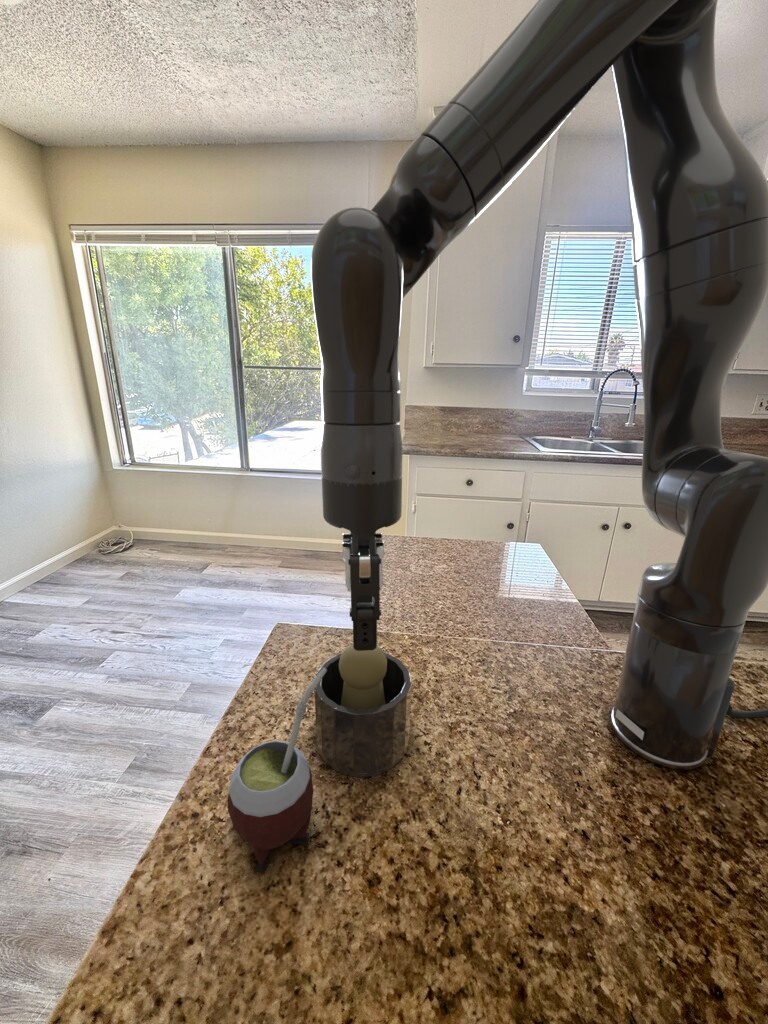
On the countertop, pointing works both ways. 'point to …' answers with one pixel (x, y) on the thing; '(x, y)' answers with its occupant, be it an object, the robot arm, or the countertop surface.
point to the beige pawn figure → (362, 678)
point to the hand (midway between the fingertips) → (363, 623)
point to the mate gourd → (273, 792)
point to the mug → (363, 723)
